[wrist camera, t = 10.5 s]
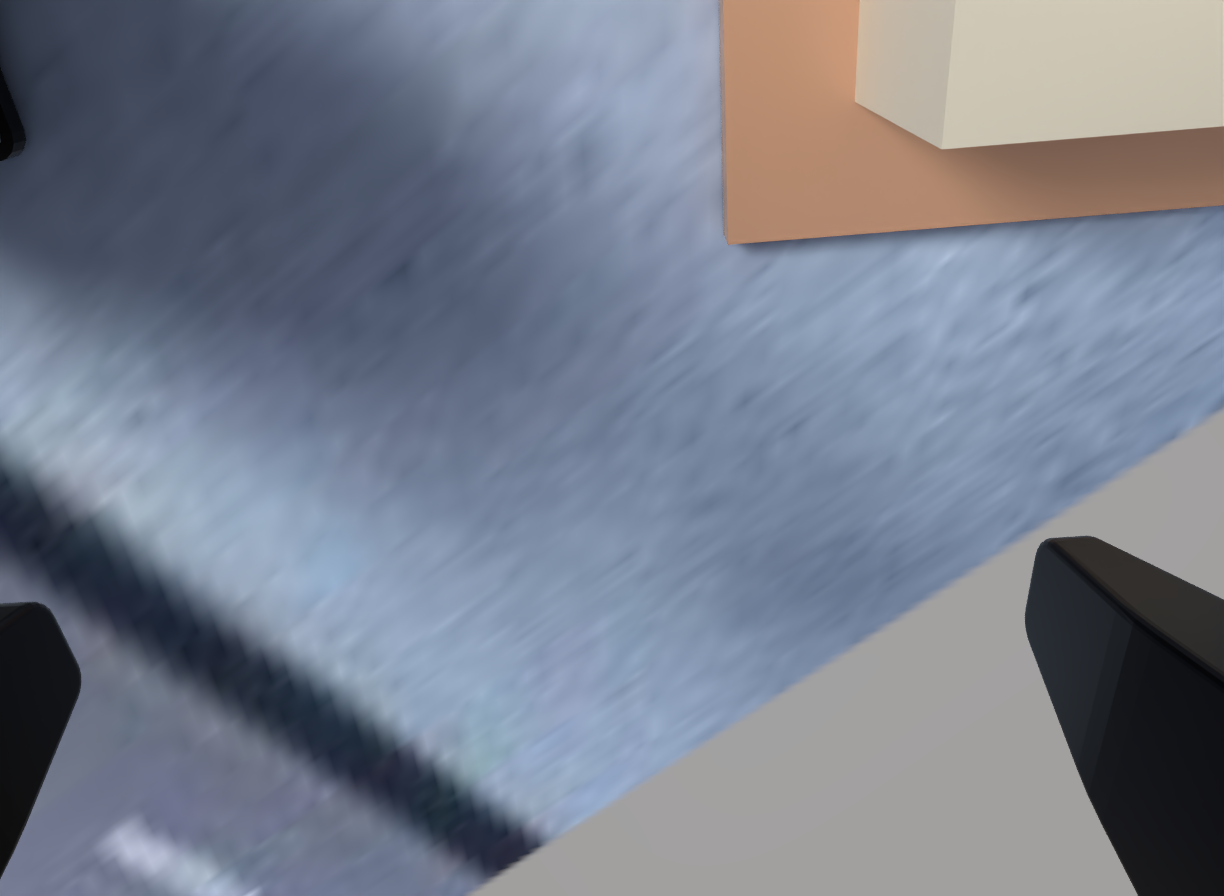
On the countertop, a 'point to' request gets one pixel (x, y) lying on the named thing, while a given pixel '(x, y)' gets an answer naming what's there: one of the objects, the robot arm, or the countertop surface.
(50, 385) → the countertop surface
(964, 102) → the cream letter cube
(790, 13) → the terracotta tile
